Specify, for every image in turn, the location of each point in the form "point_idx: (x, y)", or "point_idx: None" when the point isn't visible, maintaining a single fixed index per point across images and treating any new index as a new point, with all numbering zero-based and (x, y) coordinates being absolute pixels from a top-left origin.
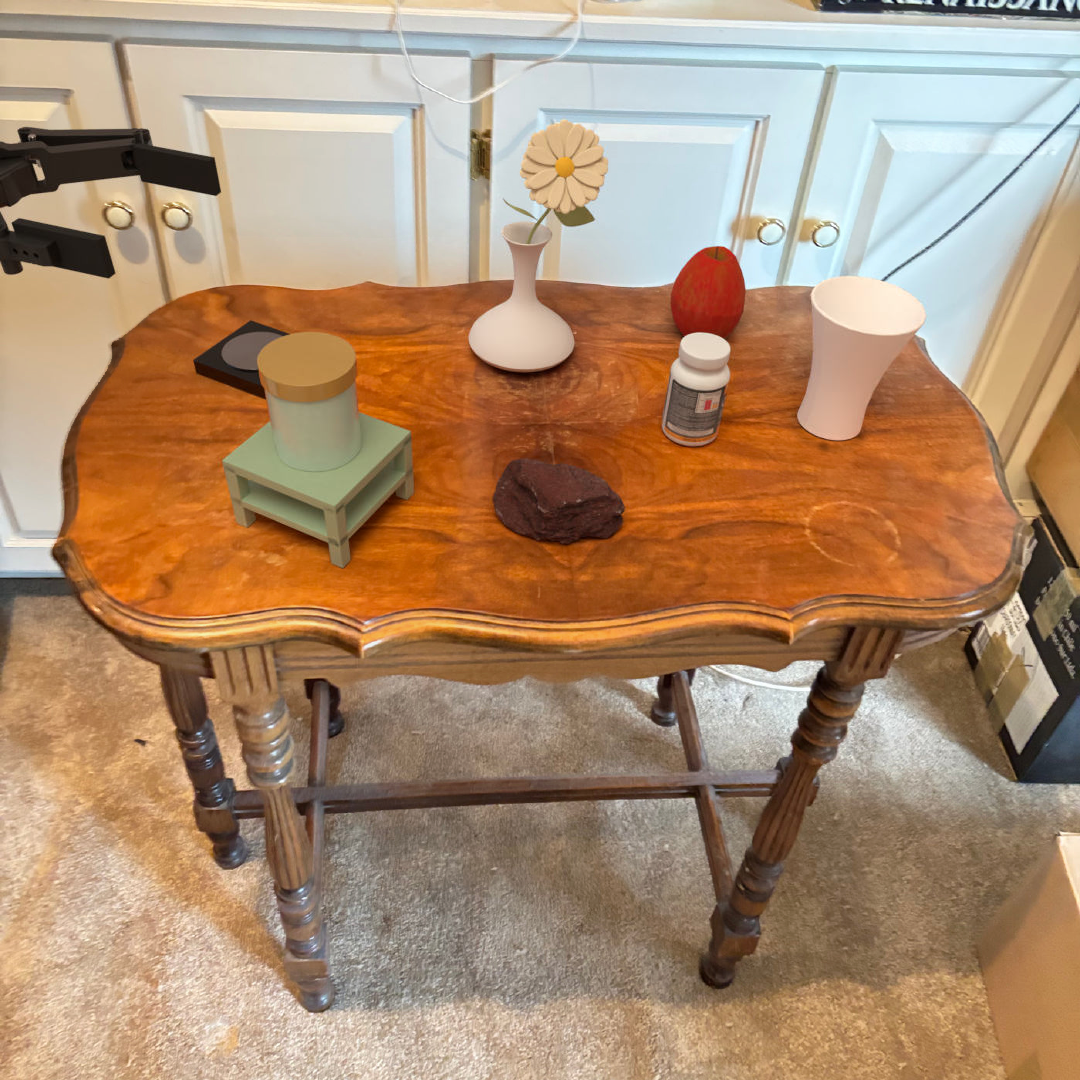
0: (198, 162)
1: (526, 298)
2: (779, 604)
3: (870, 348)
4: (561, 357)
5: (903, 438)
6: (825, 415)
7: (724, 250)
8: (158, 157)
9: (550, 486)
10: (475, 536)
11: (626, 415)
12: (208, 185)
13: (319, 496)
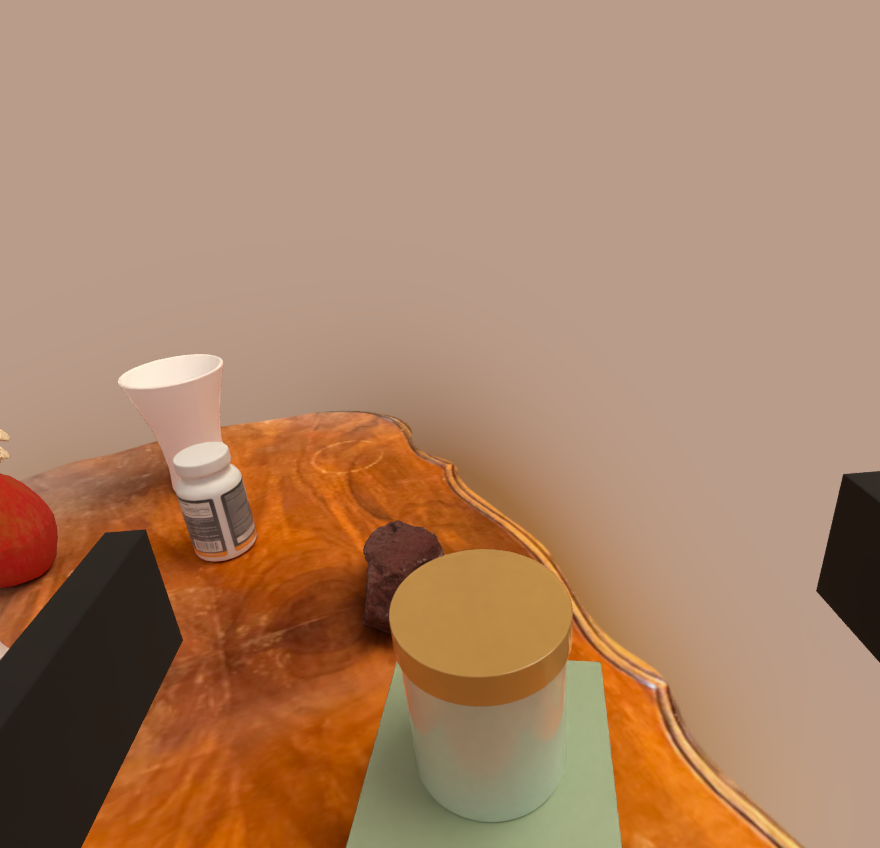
0: (126, 574)
1: (2, 646)
2: (440, 470)
3: (221, 379)
4: None
5: None
6: None
7: None
8: (7, 767)
9: (412, 548)
10: None
11: (199, 592)
12: (163, 629)
13: (597, 686)
